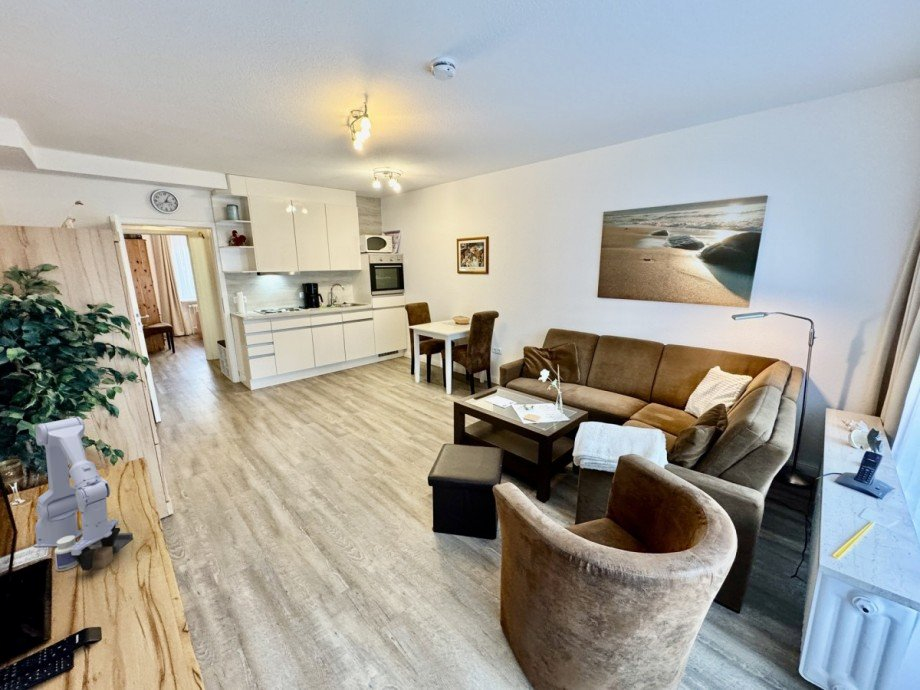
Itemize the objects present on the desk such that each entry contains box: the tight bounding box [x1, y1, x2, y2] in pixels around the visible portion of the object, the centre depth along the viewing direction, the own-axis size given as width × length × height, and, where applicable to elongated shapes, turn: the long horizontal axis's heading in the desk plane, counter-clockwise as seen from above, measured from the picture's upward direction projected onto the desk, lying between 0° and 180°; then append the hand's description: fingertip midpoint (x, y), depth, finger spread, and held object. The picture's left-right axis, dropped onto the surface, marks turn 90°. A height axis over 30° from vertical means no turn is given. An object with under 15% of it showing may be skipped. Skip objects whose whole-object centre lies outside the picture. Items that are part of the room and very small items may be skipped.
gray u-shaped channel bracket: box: [88, 532, 134, 554], centre depth 125 cm, size 10×7×2 cm, turn 96°
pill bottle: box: [53, 535, 80, 572], centre depth 115 cm, size 5×5×9 cm
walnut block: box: [90, 547, 114, 570], centre depth 116 cm, size 6×4×5 cm, turn 96°
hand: (97, 560), depth 116 cm, fingers open, 7 cm apart
